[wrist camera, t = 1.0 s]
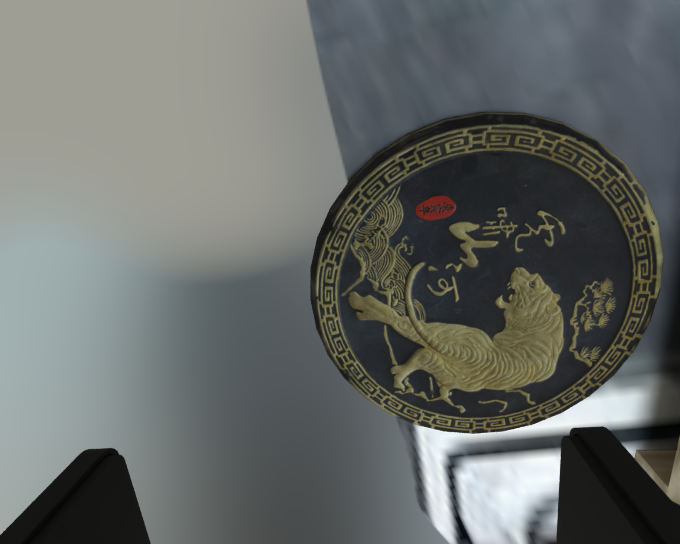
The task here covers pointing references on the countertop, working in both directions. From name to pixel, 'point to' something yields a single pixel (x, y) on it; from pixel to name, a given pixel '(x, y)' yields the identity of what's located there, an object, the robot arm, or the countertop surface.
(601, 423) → the countertop surface
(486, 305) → the decorative plate
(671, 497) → the low shelf
